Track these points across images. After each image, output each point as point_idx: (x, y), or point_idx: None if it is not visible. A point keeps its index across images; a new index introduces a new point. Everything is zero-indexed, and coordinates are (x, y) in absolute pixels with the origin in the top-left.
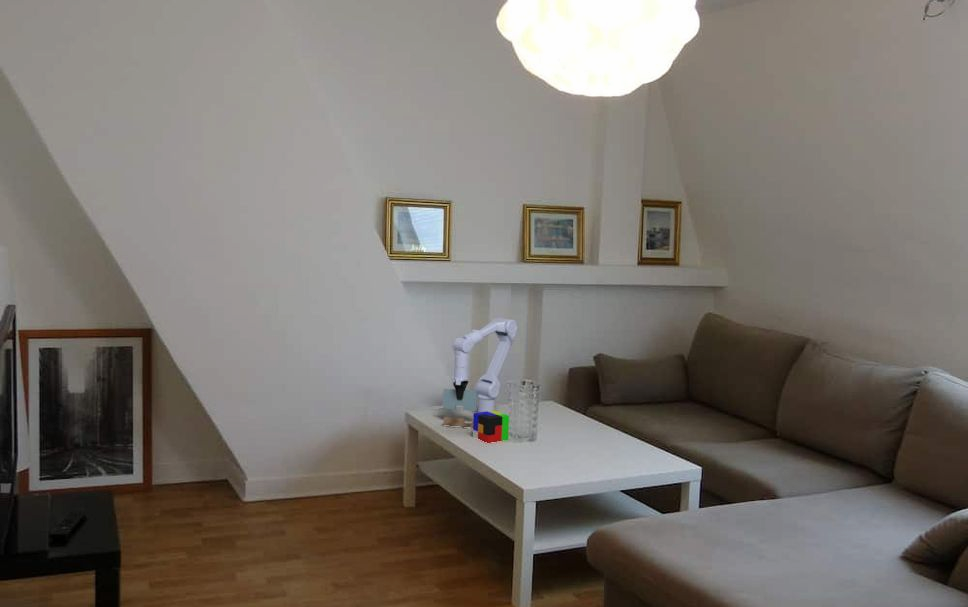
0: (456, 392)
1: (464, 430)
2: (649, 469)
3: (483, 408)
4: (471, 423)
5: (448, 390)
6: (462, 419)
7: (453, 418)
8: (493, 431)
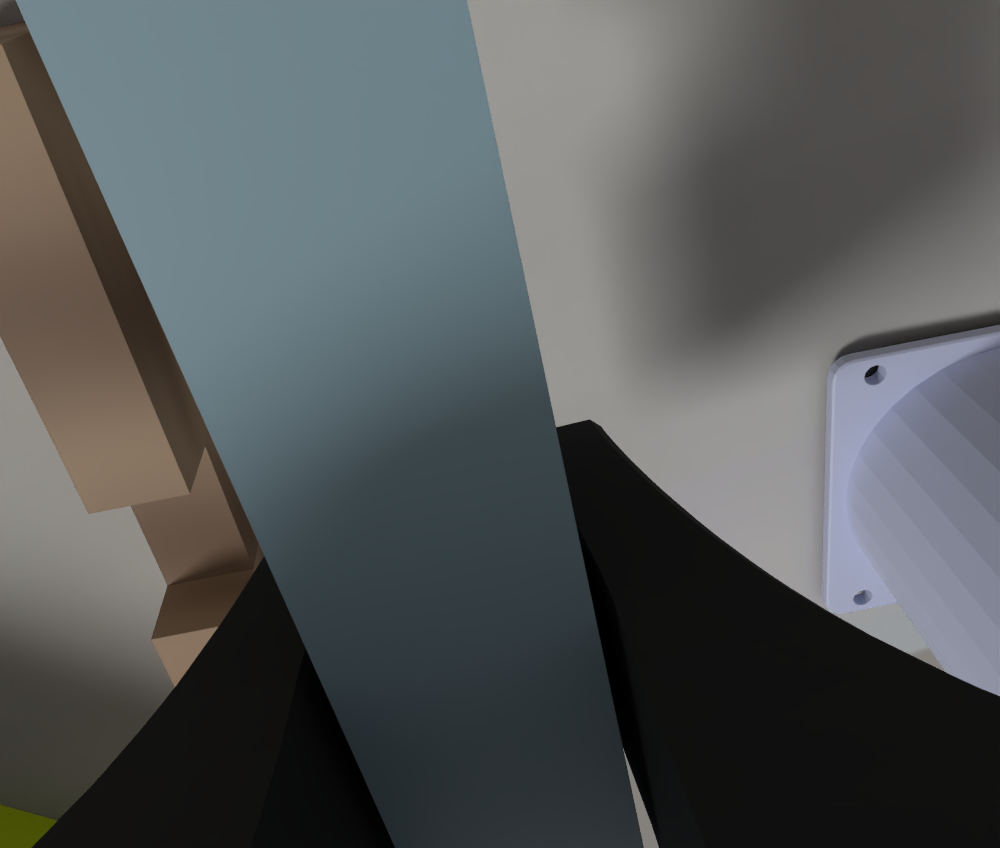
0: (188, 692)
1: (13, 491)
2: None
3: (934, 599)
4: (245, 556)
5: (134, 242)
6: (102, 487)
7: (38, 299)
8: None
